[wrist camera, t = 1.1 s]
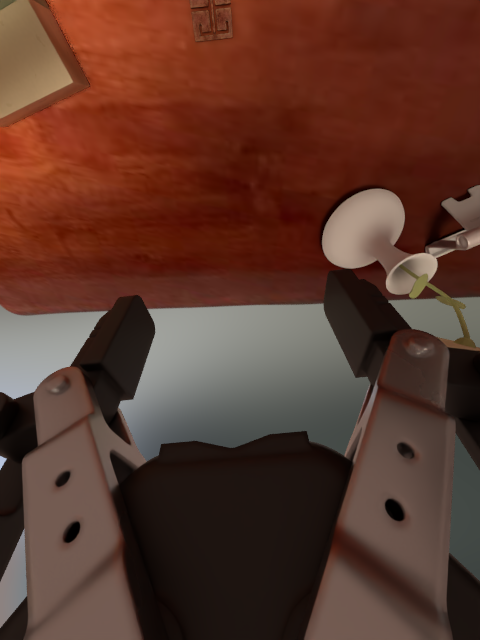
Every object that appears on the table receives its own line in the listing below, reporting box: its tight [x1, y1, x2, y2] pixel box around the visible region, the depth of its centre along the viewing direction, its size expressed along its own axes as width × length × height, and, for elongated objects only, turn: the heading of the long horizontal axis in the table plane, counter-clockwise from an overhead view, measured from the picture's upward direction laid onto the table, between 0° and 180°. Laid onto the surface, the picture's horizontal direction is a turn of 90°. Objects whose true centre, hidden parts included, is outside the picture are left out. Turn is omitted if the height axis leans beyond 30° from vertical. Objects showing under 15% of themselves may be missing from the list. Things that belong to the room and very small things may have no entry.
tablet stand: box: [425, 185, 480, 258], centre depth 31 cm, size 9×8×8 cm
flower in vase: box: [322, 189, 480, 351], centre depth 26 cm, size 13×11×25 cm
